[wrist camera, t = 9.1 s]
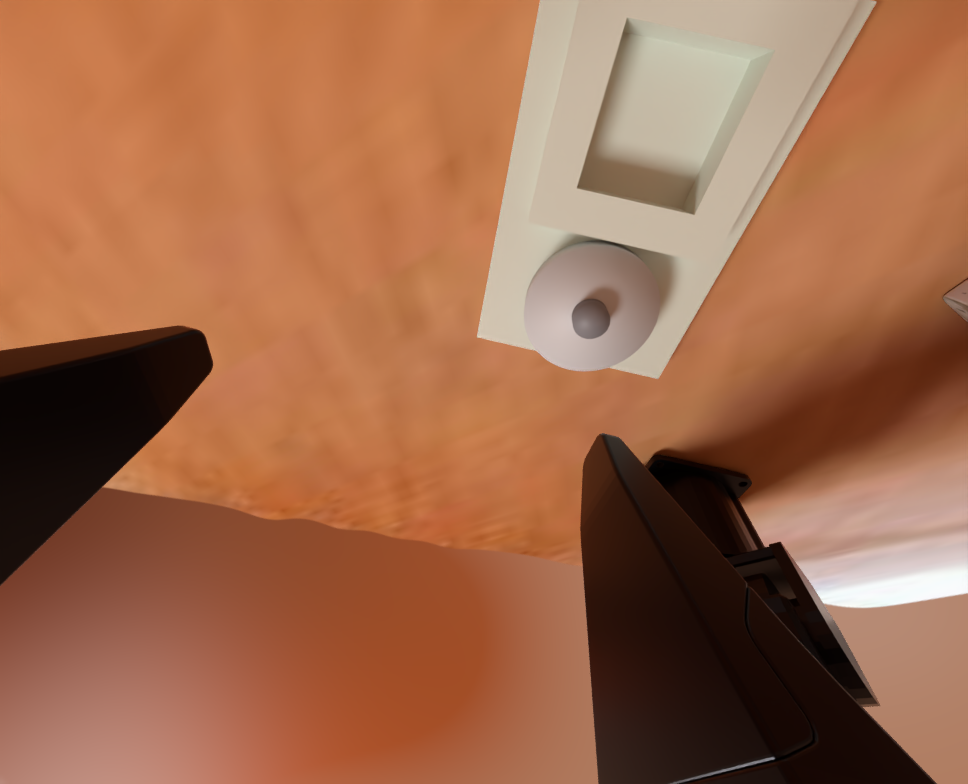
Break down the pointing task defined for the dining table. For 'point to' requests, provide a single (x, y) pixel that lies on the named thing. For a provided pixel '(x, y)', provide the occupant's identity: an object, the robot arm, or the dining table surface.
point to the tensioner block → (647, 164)
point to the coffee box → (959, 299)
